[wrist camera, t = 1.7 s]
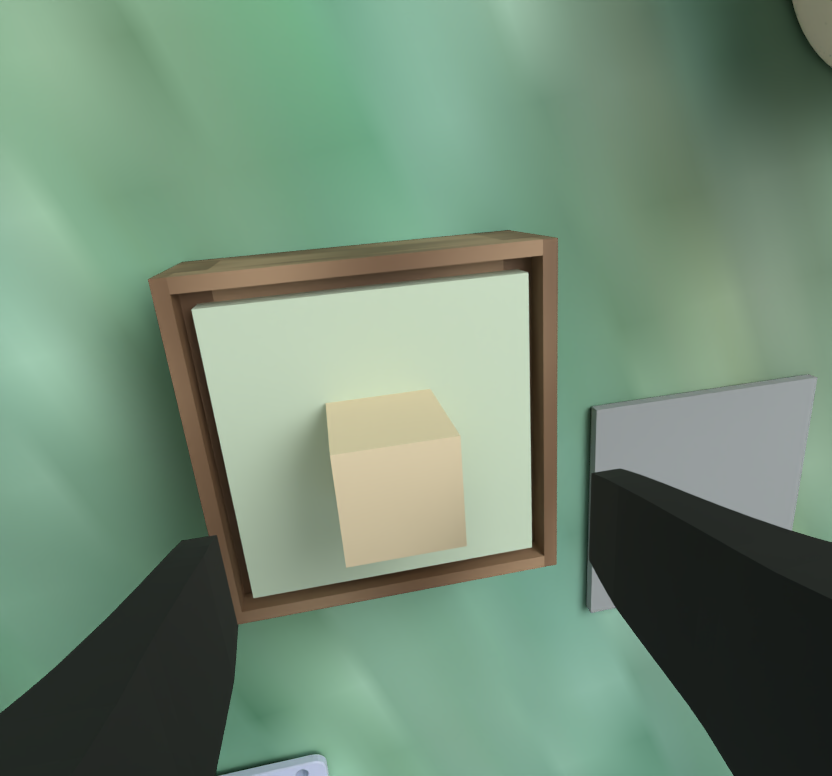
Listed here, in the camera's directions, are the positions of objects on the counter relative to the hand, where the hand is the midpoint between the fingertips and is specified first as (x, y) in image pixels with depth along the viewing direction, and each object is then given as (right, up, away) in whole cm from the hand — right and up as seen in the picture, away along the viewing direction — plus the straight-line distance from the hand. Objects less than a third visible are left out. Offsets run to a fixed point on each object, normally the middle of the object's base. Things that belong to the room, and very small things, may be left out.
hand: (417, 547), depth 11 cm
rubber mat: (+11, -1, +12) cm, 16 cm away
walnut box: (-2, +3, +8) cm, 9 cm away
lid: (-1, +2, +5) cm, 6 cm away
